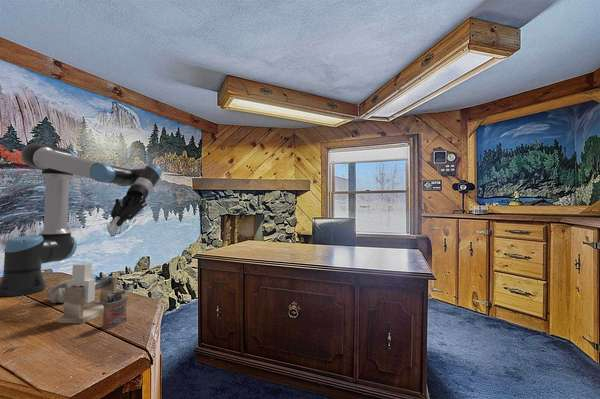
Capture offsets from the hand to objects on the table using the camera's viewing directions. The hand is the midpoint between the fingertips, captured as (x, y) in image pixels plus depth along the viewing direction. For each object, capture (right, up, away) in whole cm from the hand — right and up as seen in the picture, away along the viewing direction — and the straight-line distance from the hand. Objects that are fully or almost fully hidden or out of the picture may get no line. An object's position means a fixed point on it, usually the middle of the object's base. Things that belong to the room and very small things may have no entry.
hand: (110, 231), depth 109 cm
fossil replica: (-21, -27, +4) cm, 35 cm away
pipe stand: (0, -27, -9) cm, 28 cm away
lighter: (+13, -27, -19) cm, 35 cm away
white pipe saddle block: (0, -21, -14) cm, 25 cm away
